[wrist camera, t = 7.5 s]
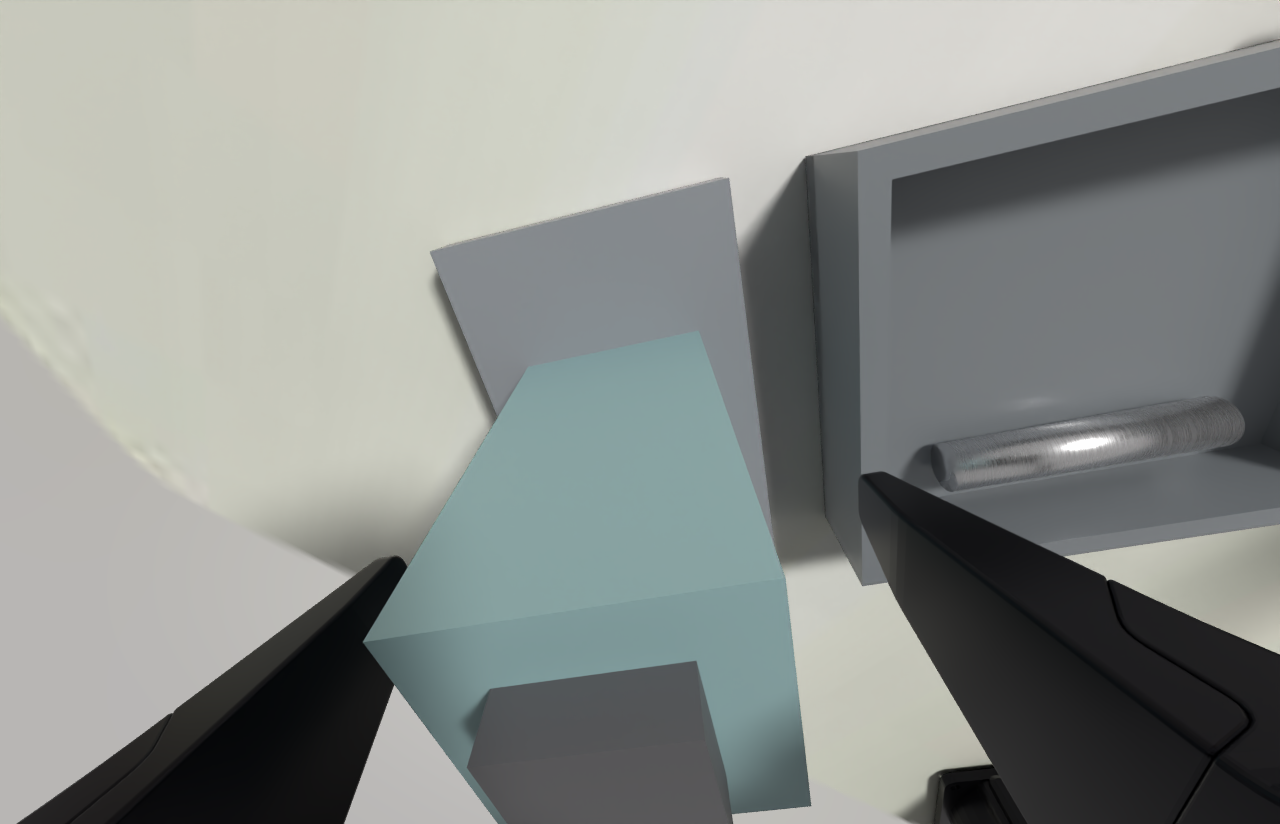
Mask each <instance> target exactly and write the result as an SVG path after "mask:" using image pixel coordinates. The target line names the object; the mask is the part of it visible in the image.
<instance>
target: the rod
mask: <svg viewBox="0 0 1280 824" xmlns="http://www.w3.org/2000/svg"><path fill="white" fill-rule="evenodd" d="M1244 431H1245V422H1244V419H1243V416H1242V414H1241V413H1240V411H1239V410H1238V409H1237V408H1236V407H1235V406H1234V405H1233V404H1232V403H1230V402H1229V401H1227V400H1225V399H1223V398H1220V397H1216V396H1202V397H1197V398H1191V399H1185V400H1180V401H1174V402H1168V403H1163V404H1157V405H1152V406H1146V407H1140V408H1135V409H1129V410H1123V411H1118V412H1112V413H1107V414H1101V415H1095V416H1090V417H1084V418H1078V419H1073V420H1067V421H1062V422H1056V423H1050V424H1045V425H1039V426H1033V427H1028V428H1022V429H1016V430H1011V431H1005V432H1000V433H994V434H988V435H983V436H977V437H971V438H966V439H960V440H955V441H949V442H943V443H938V444H935V445H934V446H933V447H932V450H931V465H932V469H933V472H934V474H935V477H936V479H937V480H938V482H939V483H940V485H941V486H942V487H943V488H944V489H945V490H947V491H949V492H954V491H960V490H966V489H972V488H978V487H984V486H990V485H996V484H1002V483H1008V482H1014V481H1020V480H1026V479H1032V478H1038V477H1044V476H1050V475H1056V474H1062V473H1068V472H1074V471H1080V470H1086V469H1092V468H1098V467H1104V466H1110V465H1116V464H1122V463H1128V462H1134V461H1140V460H1146V459H1152V458H1158V457H1164V456H1170V455H1176V454H1182V453H1188V452H1194V451H1200V450H1206V449H1212V448H1218V447H1224V446H1229V445H1232V444H1235V443H1236V442H1238V441H1239V440H1240V439H1241V437H1242V436H1243V434H1244Z"/></svg>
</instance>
